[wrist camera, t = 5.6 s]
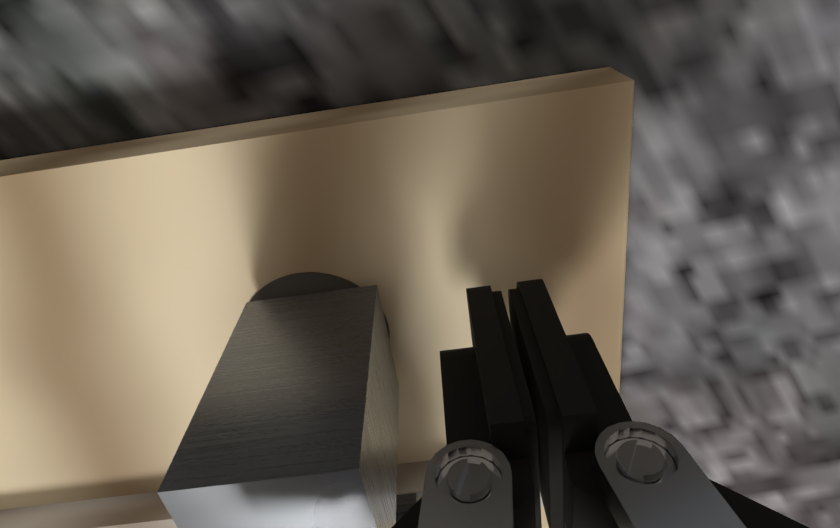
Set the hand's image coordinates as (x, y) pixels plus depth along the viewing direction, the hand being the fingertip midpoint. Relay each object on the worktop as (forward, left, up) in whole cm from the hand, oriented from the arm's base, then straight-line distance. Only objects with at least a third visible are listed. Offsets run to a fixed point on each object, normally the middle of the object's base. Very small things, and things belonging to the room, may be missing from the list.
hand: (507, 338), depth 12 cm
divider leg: (+4, +3, -1) cm, 5 cm away
